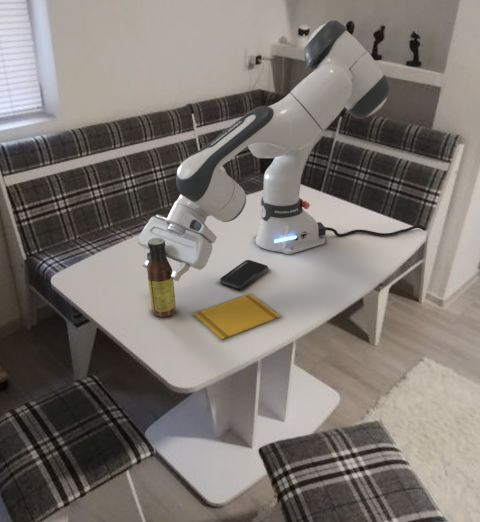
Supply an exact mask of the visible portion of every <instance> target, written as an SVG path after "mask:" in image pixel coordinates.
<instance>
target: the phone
mask: <svg viewBox="0 0 480 522" xmlns="http://www.w3.org/2000/svg"><path fill="white" fill-rule="evenodd" d="M268 271H269V266H268V265H266V264H264V263H261V262H257V261H254V260H252V259H246V260H244V261H242V262H241V263H239V264H238V265H237V266H236V267H234V268H233V269H231V270H229V272H227V273H226V274H224V275H223V276H221V277H220V278H219V283H220V285H223V286H226V287H228V288H231V289H234V290H237V291H244V290H245V289H247V288H248V287H249V286H251V285H252V284H253V283H254V282H256V281H257V280H258V279H260V278H261V277H263V275H265V274H266V273H267V272H268Z"/></svg>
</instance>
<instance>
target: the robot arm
mask: <svg viewBox="0 0 480 522" xmlns="http://www.w3.org/2000/svg"><path fill="white" fill-rule="evenodd" d="M347 28H348V27H346V26H345V25H344V24H342V23H341V22H340V21H339V20H329V21H328V22H326V23H323V24H321V25H320V26H319V27H317V28H316V29H314V31H313V32H312V33H311V35H310V36H309V38H308V40H307V42H306V45H305V46H304V50H303V51H304V52H303V58H304V61H305V64H306V66H305V70H306V71H307V70H309V69H311V70H312V72H310V73H308V75H307V76H306V77H304V78H303V79H302V80H300V82H299V83H298V84H296V85H295V86H294V87H293V89H291V90H290V92H289V93H288V94H287V95H286V96H284V97H282V99H280V100H279V101H277V102H274V103H273V104H271V105H259V106H257V107H255V108H253V109H251V110H250V111H248V112H247V113H246V114H245V115H243V116H242V117H240V118H239V119H238V120H236V121H235V122H234V123H233V124H231V125H230V126H229V127H228V128H227V129H225V130H224V131H222V132H221V133H220V134H218V135H217V137H215V138H213V140H211V141H210V142H209V143H207V144H206V145H205V146H204V147H202V148H200V149H199V150H197V151H196V152H194V153H192V154H190V155H188V156H187V157H186V158H184V159H183V160H182V161H181V162H180V164H179V165H178V166H177V169H176V173H175V184H176V189H177V191H178V193H179V196H178V198H177V199H176V200H175V201H174V203H173V204H172V206H171V208H170V211H169V213H168V215H167V216H165V215H164V216H163V215H161V214H156V215H153V216H152V217H151V218H150V219H149V221H147V223H146V225H145V226H144V228H143V229H142V230H141V232H140V234H139V235H138V238H137V244H138V245H139V246H140V247H142V248H144V249H145V250H144V261H143V263H142V267H143V268H145V269H147V266H148V263H149V261H150V249H149V247H148V241H149V240H150V239H152V238H162V239H164V240H165V254H166V258H167V259H171V260H172V261H176V262H178V263H180V264H179V266H180V267H179V268H178V269H177V270H176V271H175V270H172V275H171V278H172V279H173V281H176V282H179V281H180V279H181V277H182V276H184V274H186V273H188V272H189V271H190V268H193V269H196V270H199V271H201V270H202V269H204V268H205V267H206V266H207V264H208V261H209V260H210V257H211V255H212V251H213V244H214V243H216V241H217V239H218V237H217V235H216V234H215V233H214V232H213V231H212V230H211V229H210V228H209V227H208V226H207V225H206V222H207V219H208V217H212V218H214V219H215V220H217V221H220V222H222V223H229V222H232V221H234V220H236V219H237V218H238V217H239V216H240V215H241V213H243V211H244V209H245V207H246V204H247V193H246V191H245V190H244V189H243V187H242V186H241V185H240V184H239V183H238V182H237V181H235V179H233V178H232V177H231V176H229V175H228V173H227V171H226V168H225V167H224V165H225V164H226V163H228V162H229V161H230V160H232V159H233V158H234V157H236V156H237V155H238V154H239V153H240V152H242V151H243V150H245V149H246V148H248V150H249V151H250V153H251V154H252V155H253V156H254V157H255V158H257V159H273V160H272V162H271V163H270V165H269V166H268V167H267V168H266V170H265V171H264V175H263V184H262V185H263V186H262V187H263V188H262V197H261V200H260V201H261V202H260V220H259V221H260V223H259V226H258V230H257V233H256V237H255V241H254V242H255V243H256V245H257V246H258V247H260V248H262V249H265V250H267V251H272V252H279V253H283V254H287V255H293V254H296V253H299V252H302V251H306V250H308V249H311V248H315V247H317V246H321V245H322V246H323V245H324V244H325V243H326V238H325V236H326V232H327V231H331V232H332V233H334V235H335V236H336V237H338V238H341V237H347V236H349V235H352V234H356V233H361V234H367V235H368V234H369V235H373V236H378V237H392V236H396V235H399V234H402V233H406V232H409V231H412V230H415V229H421V230H422V231H426V228H425V226H424V225H421V224H416V225H413V226H410V227H407V228H404V229H403V228H402V229H399V230H396V231H393V232H378V231H377V232H376V231H372V230H368V229H352V230H350V231H347V232H344V233H338V230H337V229H335V228H333V227H329V226H328V227H327V226H324V224H323V223H322V222H321V221H317V220H316V219H315V218H314V217H313V216H312V215H311V214H310V213H308V212H307V211H306V210H308V209H309V208H310V206H311V204H310V203H309V202H308V201H306V200H303V199H302V198H301V197H300V191H301V184H302V177H303V173H304V169H305V166H306V164H307V162H308V160H309V157H310V155H311V152H312V151H313V149H314V147H315V146H316V145H317V143H319V141H320V140H321V138H322V137H323V133H324V131H326V130H327V129H328V128H329V127H330V125H332V123H333V122H334V121H335V120H336V119H337V118H338V116H339V115H340V114H341V113H342V111H343V110H344V108H345V109H346V110H347V111H346V112H347V113H348V114H350V115H351V116H352V117H354V118H355V119H358V120H359V119H361V120H363V119H365V118H367V117H369V116H372V115H374V114H376V113H377V112H378V111H379V110H380V109H381V108H382V107H383V106H384V105H385V103H386V101H387V99H388V97H389V95H390V93H391V83H390V81H389V79H388V77H387V76H386V74H383V72H382V70H381V68H380V67H379V65H378V64H377V62H376V61H375V59H374V58H373V56H372V55H371V53H370V52H369V51H367V50H366V49H365V47H364V46H363V45H362V44H361V42H359V41H358V40H357V39H356V37H355V36H353V35H352V34H351V33H350V32H349V31H348V30H347ZM303 208H304V209H305V210H304V209H303Z"/></svg>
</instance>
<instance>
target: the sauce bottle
mask: <svg viewBox="0 0 480 522" xmlns="http://www.w3.org/2000/svg"><path fill="white" fill-rule="evenodd" d="M148 247H149V249H150V261H149V263H148V266H147V268H146V271H147V272H146V273H147V282H148V290H149V291H148V292H149V299H150V306H151V311H152V313H153V314H154V315H155V316H156V317H159V318H160V317H161V318H166V317H170V316H172V315H174V314H175V312H176V295H175V285H174V284H175V283H174V279H172V278H171V275H172V272H173V268H172V266H171V263H169V262H170V261H169V260H168V257H166V254H165V240H164V239H162V238H152V239H150V240H149V241H148Z"/></svg>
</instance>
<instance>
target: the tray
mask: <svg viewBox="0 0 480 522" xmlns="http://www.w3.org/2000/svg"><path fill="white" fill-rule="evenodd" d="M193 316H195V318H196V319H198V320H199V321H200V322H201V323H202V324H203V325H204V326H205V327H206V328H208V329H209V330H210V331H211V332H212V333H213V334H215V336H217V337H218V338H219V339H220V340H221V341H223V340H226V339H228V338H231V337H233V336H236V335H238V334H241V333H243V332H246V331H248V330H252V329H253V328H256V327H259V326H261V325H264V324H266V323H269V322H271V321H274V320H276V319H279V318H281V315H279V314H278V313H277V312H275V311H274V310H273V309H272V308H270V307H269V306H268V305H267V304H264V303H263V302H262V301H261V300H260V299H258V298H256V296H254V295H253V294H252V293H249V294H246V295H244V296H239V297H238V298H235V299H232V300H230V301H227V302H223V303H221V304H218V305H215V306H212V307H209V308H206V309H204V310H201V311H198V312H195V313H193Z"/></svg>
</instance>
